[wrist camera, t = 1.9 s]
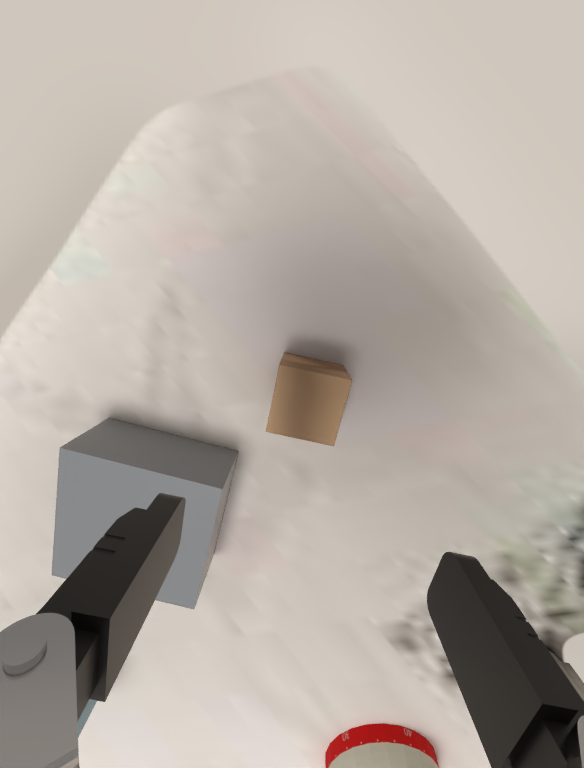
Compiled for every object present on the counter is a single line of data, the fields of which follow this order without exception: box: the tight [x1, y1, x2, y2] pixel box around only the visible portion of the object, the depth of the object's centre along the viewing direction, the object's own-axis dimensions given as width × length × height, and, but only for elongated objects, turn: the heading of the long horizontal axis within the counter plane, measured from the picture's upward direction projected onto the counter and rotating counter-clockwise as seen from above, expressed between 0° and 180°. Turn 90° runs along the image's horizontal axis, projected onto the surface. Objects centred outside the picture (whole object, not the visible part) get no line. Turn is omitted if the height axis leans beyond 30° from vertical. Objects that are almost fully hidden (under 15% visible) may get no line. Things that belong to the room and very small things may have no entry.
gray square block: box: [52, 418, 239, 609], centre depth 27 cm, size 12×12×6 cm
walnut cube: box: [266, 353, 352, 446], centre depth 24 cm, size 5×5×5 cm
